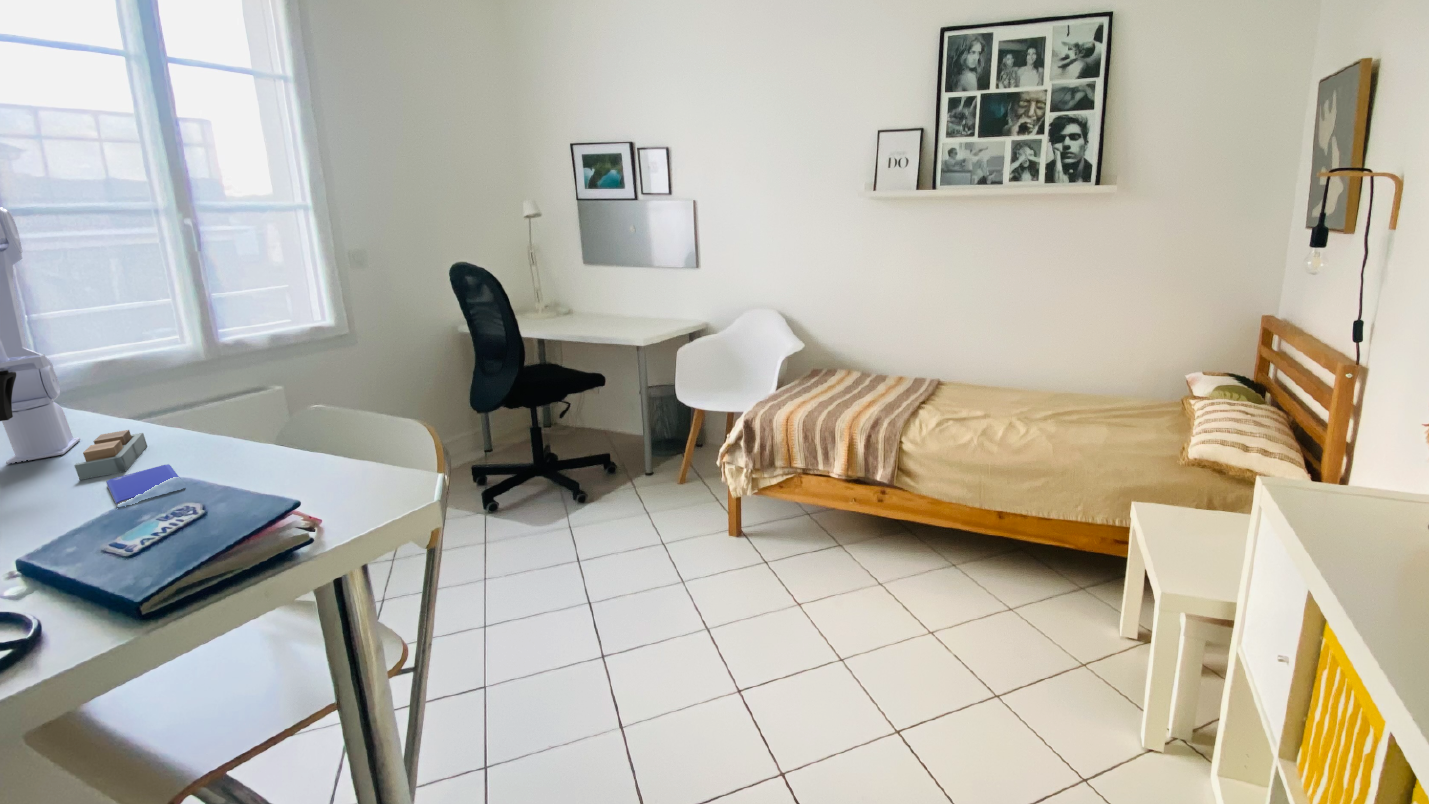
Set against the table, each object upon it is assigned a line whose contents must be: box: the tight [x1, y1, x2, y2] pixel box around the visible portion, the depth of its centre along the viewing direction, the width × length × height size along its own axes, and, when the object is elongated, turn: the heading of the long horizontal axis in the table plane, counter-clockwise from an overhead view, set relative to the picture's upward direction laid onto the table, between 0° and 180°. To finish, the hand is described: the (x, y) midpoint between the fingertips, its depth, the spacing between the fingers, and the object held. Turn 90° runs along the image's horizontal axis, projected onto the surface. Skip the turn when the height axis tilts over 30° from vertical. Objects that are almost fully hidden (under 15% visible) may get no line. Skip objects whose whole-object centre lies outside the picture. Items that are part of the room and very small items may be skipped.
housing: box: [74, 432, 148, 481], centre depth 122 cm, size 14×6×2 cm, turn 25°
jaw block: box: [82, 440, 123, 462], centre depth 119 cm, size 4×4×4 cm
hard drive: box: [106, 463, 180, 506], centre depth 110 cm, size 2×8×12 cm
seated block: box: [93, 429, 132, 445], centre depth 125 cm, size 4×4×4 cm
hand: (5, 419), depth 116 cm, fingers closed
